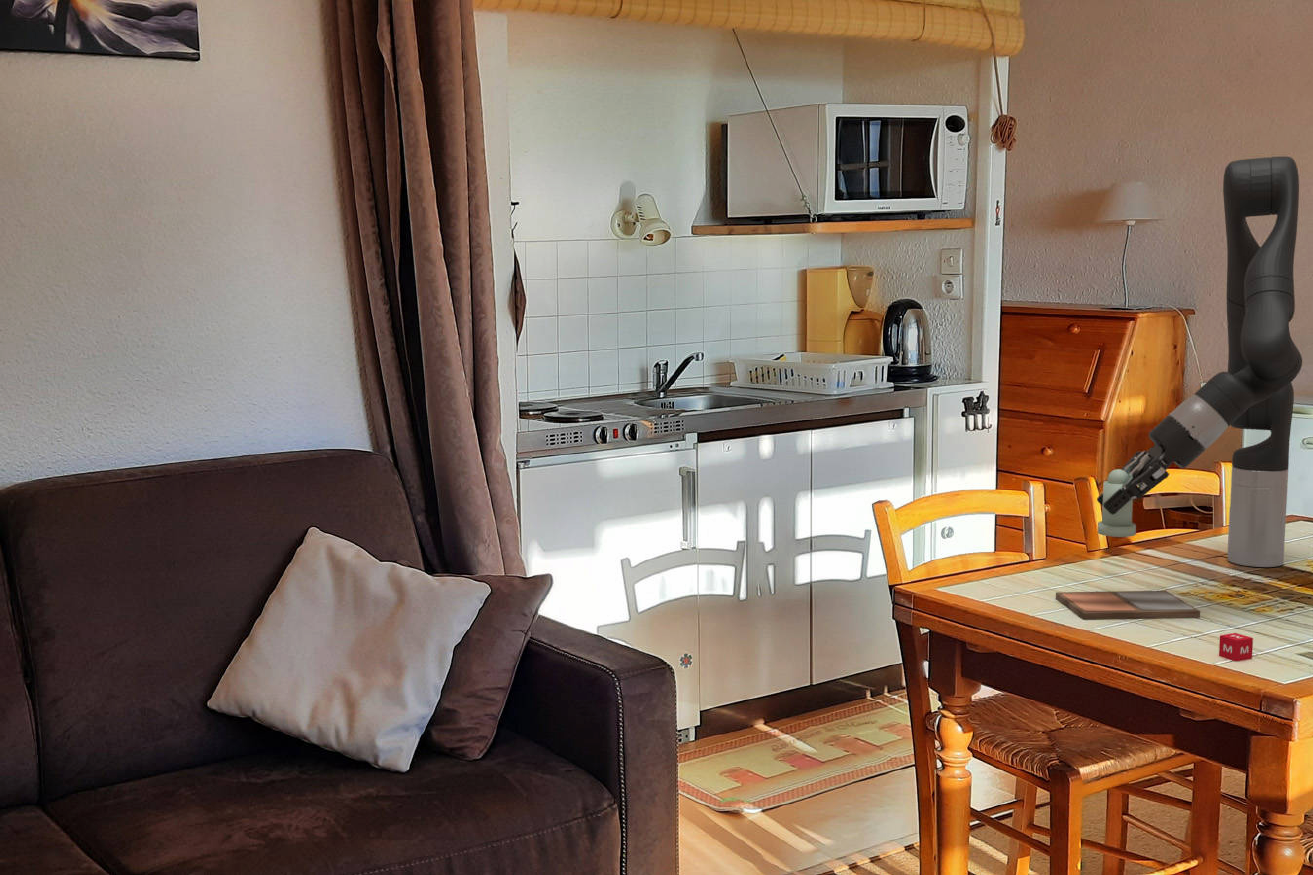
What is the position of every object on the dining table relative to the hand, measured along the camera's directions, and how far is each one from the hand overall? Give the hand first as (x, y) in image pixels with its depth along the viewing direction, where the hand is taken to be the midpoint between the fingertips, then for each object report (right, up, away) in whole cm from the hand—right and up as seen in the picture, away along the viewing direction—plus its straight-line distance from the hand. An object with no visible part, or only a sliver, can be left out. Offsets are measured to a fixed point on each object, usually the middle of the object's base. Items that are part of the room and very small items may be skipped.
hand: (1104, 507), depth 211 cm
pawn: (+2, -4, 0) cm, 5 cm away
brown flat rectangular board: (+4, -16, +3) cm, 17 cm away
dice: (+10, -20, -24) cm, 33 cm away
